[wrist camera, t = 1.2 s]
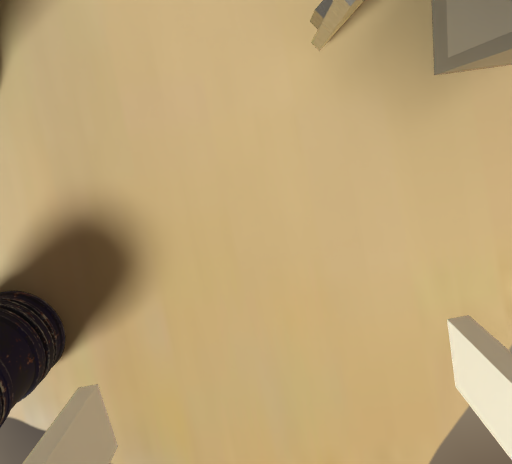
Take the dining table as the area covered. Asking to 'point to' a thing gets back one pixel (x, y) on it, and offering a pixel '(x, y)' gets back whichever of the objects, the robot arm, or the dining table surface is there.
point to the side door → (331, 18)
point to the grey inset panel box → (471, 34)
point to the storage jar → (26, 346)
